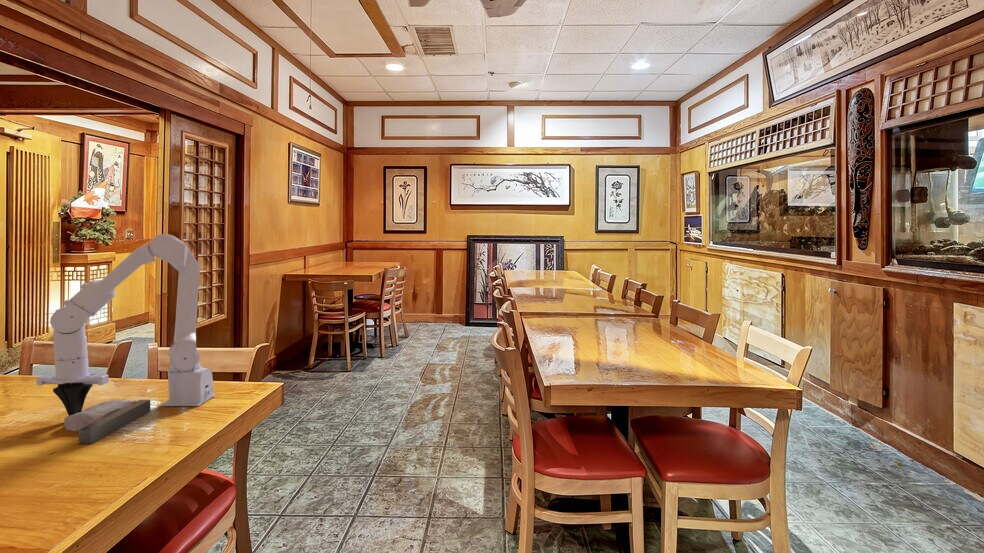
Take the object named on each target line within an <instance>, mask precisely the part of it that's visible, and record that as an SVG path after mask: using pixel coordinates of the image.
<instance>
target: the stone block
mask: <svg viewBox="0 0 984 553" xmlns="http://www.w3.org/2000/svg"><path fill="white" fill-rule="evenodd" d="M137 401H138V400H134V401H133V400H127V399H113V400H108V401H104V402H100V403H97V404H95V405H93V406H90V407H88V408H85V409H84V410H82V412H79V413H76V414H74V415H70V416H69V415H67V416H66V417H64V421H63V425H64V429H65V431H72V432H78V430H80V429H82V428H84V427H86V426H88V425H90V424H92V423H94V422H96V421H98V420H100V419H102V418H104V417H106V416H108V415H110V414H112V413H114V412H116V411H118V410H120V409H122V408H124V407H126V406H128V405H130V404H132V403H135V402H137Z"/></svg>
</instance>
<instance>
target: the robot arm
mask: <svg viewBox="0 0 984 553" xmlns="http://www.w3.org/2000/svg"><path fill="white" fill-rule="evenodd" d="M155 257H156V258H158V259H159V260H161V261H164V262H166V263H169V264H170V265H171V267H173V268H174V269H175V270H176V271H177V272H178V278H177V293H176V295H177V296H176V309H175V325H174V336H173V342H172V344H171V346H170V347H169V349H168V356H169V363H170V365H169V366H168V367H167V383H168V384H167V385H168V386H167V388H168V400H166V401H164V402H162V403H161V404H160V406H161V407H198V406H200V405H202V404H204V403H206V402H207V401H209V400H210V399H212V398H213V397H215V396H216V394H215V393H214V379H213V378H214V377H213V372H212V370H211V369H210V368H208V367H207V368H206V367H203V366H202V364H201V362H199V361H200V356H201V355H200V353H199V351H198V349H197V319H198V303H199V289H200V288H199V287H200V273H201V271H200V270H201V265H200V263H199V261H198V260H197V258H196V257H195V256H194V254H193V253H192V252H191V250H190V249H189V248H188V246H187V245H186V243H185V242H183V241H182V240H180V238H178V237H176V236H175V235H172V234H169V233H163V234H158V235H157V234H156V236H154V237H153V238H152V239H151V241H150V242H149V241H148V242H146V243H144V244H142V245H141V246H139V247H138V248H136V249H135V250H133V251H132V252H131V253H130V254H128V255H127V257H125V258H124V259H123V260H122V261H121V262H120V263H119V264H118V265H116V267H115V268H114V269H112V270H111V271H109V273H108V274H107V275H105V277H104V278H103V279H94V280H92V279H91V280H90V281H89V282H88V283H87V282H84V283H82V285H80V288H81V289H80V290H79V291H78V292H77V293H75V294H74V295H73V296H72V297H71V298H70V299H65V300H64V301H63V302H62V304H63V305H64V306H62V307H60V308H58V309H56V310H55V311H54V313H53V314H52V315H51V316H50V318H49V319H50V321H49V323H50V326H51V328H53V334H52V335H53V337H54V338H53V354H54V355H53V356H54V370H55V373H54V374H53V373H52V374H43V375H39V376H36V377H35V379H36V386H44V385H57V386H56V387H54V388H53V389H52V392H53V394H55V395H56V396H57V397H58V398H59V399H60V401H61V403H62V404H63V406H64V408H65V411H66V412H67V416H70V415H74V414H76V413H79V412H82V411H83V407H84V404H85V400H86V398H87V396H88V394H89V391H90V390H91V388H92V387H93V385H98V386H103V385H106V384H108V383H110V381H109V378H110V377H109V374H101V373H95V372H89V371H90V368H89V354H88V353H89V352H88V336H86V326H85V324H86V322H87V320H88V319H89V317H94V316H95V315H96V314H97V313H98V312H100V311H101V310H102V308H103V307H105V306H106V305H107V304H108V303H110V302H111V300H112V299H114V298H115V297H116V287H118V286H119V285H120V284H122V283H123V281H125V280H126V279H128V277H129V276H130V275H132V274H133V273H134V272H135V271H136V270H138V269H140V267H141V266H143V265H147V264H150V263H154V262H156V259H155Z"/></svg>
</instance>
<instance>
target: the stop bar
mask: <svg viewBox="0 0 984 553" xmlns="http://www.w3.org/2000/svg"><path fill="white" fill-rule="evenodd" d="M136 401H137V402H135V403H132V404H130V405H128V406H126V407H124V408H122V409H120V410H118V411H116V412H114V413H112V414H110V415H108V416H106V417H104V418H102V419H100V420H98V421H96V422H94V423H92V424H90V425H88V426H86V427H84V428H82V429H80V430H78V431H77V432H78V445H92V444H94V443H96V442H98V441H100V440H101V439H104V438H105V437H107V436H108V435H111V434H112V433H114V432H116V431H118V430H120V429H122V428H123V427H125V426H127V425H129V424H130V423H132V422H134V421H136V420H138V419H139V418H141V417H143V416H145V415H148V413H151V410H152V409H151V399H139V400H136Z"/></svg>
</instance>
